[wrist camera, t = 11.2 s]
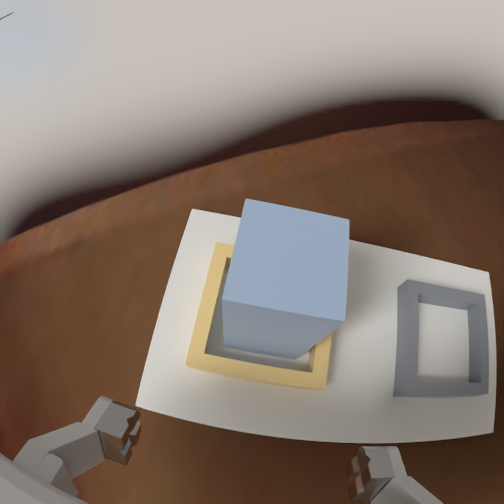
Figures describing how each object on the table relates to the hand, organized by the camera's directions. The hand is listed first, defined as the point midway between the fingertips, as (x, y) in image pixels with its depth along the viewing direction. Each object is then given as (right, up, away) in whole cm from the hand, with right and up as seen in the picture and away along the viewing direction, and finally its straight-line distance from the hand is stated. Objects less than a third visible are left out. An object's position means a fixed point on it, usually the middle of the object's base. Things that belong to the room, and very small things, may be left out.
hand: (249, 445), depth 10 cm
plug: (+1, +3, +8) cm, 9 cm away
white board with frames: (+7, +2, +9) cm, 11 cm away
